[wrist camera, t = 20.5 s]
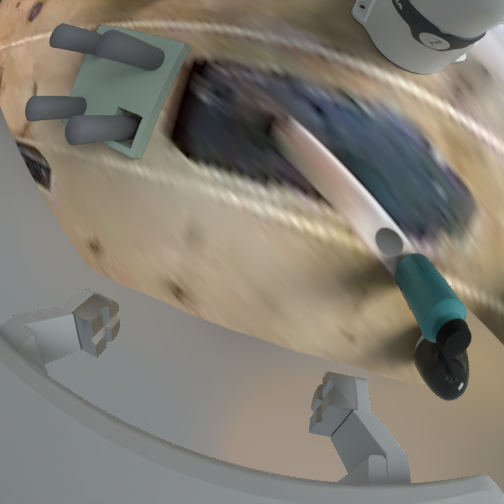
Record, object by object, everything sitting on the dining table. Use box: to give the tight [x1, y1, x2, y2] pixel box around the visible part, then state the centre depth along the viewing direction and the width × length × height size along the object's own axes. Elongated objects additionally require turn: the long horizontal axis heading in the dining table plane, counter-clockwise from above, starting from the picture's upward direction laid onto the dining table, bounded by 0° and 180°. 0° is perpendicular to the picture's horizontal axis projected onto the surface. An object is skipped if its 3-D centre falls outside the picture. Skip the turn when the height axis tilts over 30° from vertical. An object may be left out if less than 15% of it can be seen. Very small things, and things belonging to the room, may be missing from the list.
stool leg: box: [65, 115, 141, 145], centre depth 35 cm, size 4×4×14 cm
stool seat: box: [25, 23, 192, 159], centre depth 33 cm, size 20×20×14 cm
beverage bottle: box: [395, 254, 471, 357], centre depth 32 cm, size 6×7×20 cm
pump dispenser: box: [414, 335, 469, 401], centre depth 38 cm, size 10×10×15 cm
